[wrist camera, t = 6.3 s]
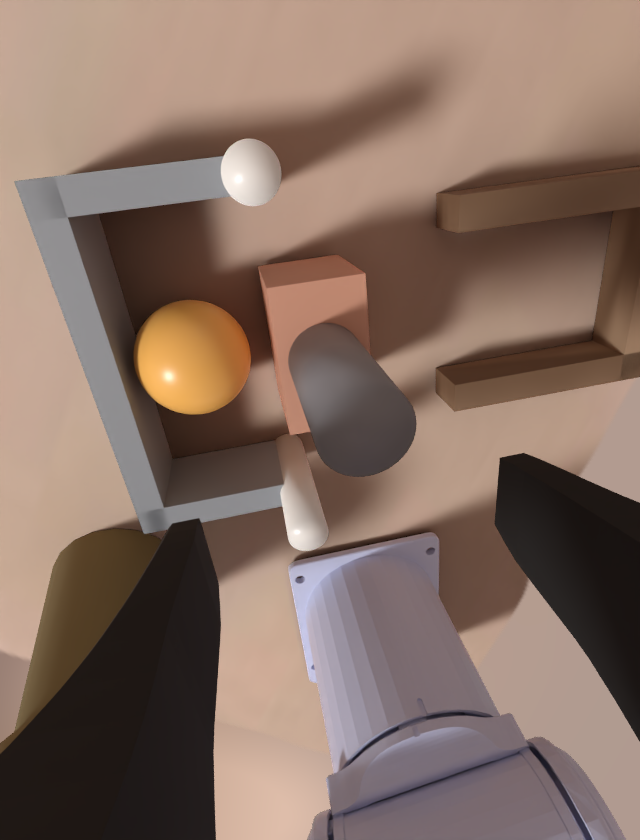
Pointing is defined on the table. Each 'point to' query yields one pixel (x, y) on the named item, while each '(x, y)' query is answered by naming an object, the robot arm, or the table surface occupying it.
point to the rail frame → (618, 301)
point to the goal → (114, 339)
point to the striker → (333, 366)
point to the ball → (192, 357)
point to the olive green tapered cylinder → (80, 609)
